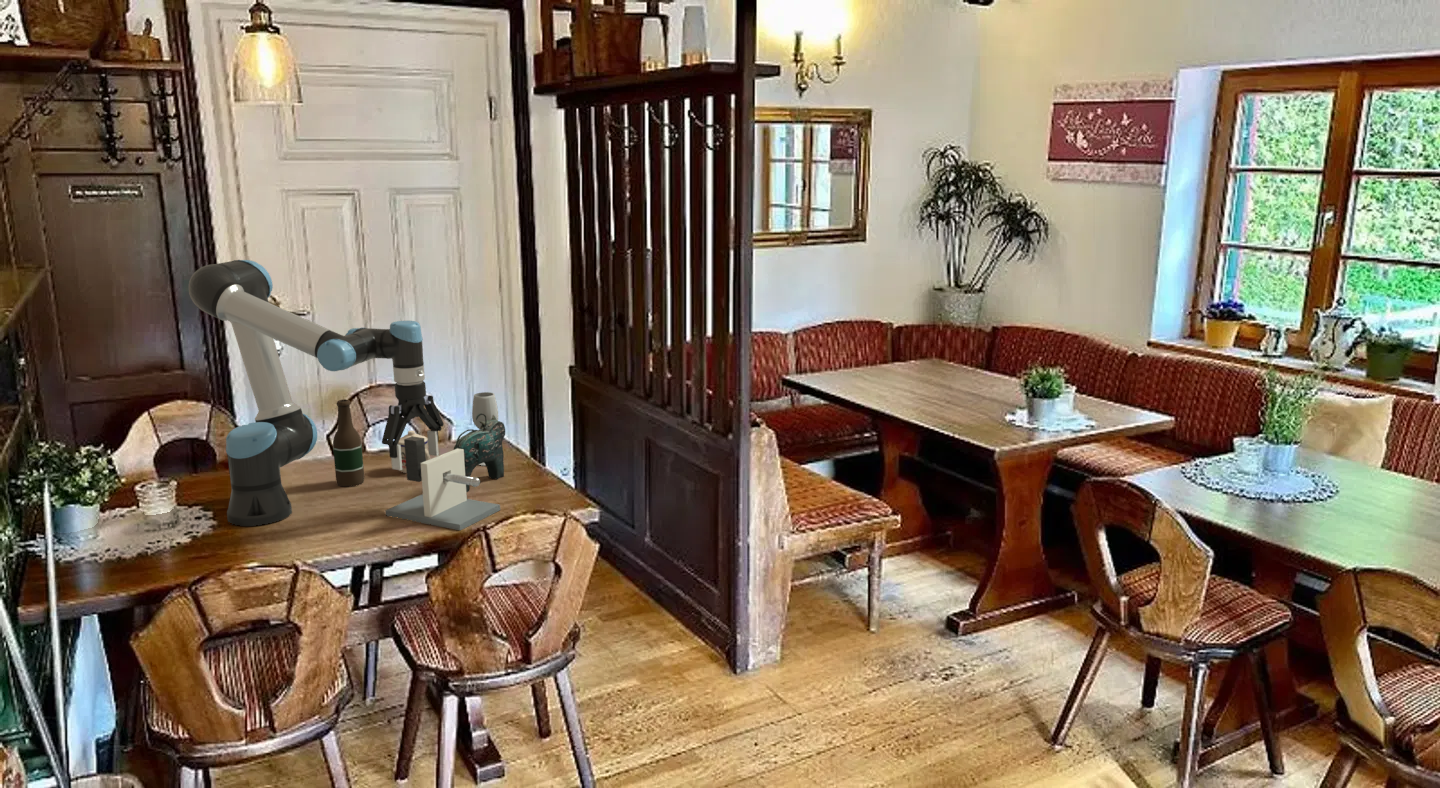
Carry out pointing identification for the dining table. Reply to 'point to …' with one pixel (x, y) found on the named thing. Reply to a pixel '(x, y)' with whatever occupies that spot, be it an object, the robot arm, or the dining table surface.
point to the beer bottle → (347, 449)
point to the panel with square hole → (443, 496)
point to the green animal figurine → (483, 448)
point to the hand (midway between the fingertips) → (415, 462)
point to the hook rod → (417, 456)
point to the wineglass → (484, 408)
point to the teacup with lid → (401, 442)
